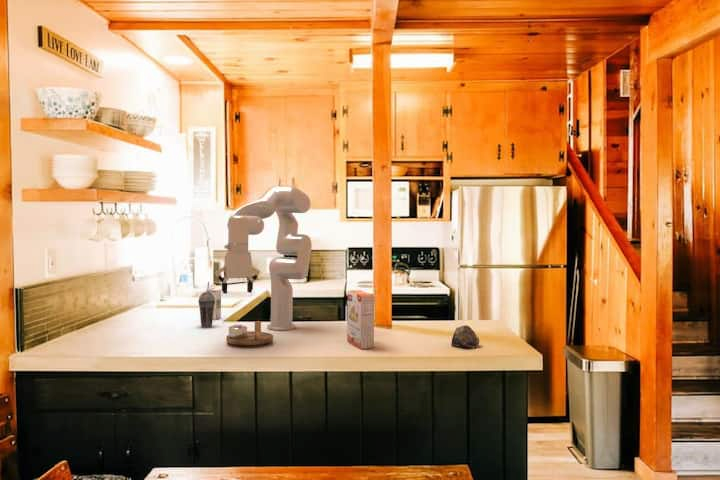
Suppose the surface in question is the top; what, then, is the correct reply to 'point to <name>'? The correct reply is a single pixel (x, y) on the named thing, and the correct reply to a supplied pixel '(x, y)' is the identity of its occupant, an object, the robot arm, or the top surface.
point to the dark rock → (465, 337)
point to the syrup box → (216, 302)
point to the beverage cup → (206, 308)
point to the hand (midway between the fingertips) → (237, 292)
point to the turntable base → (250, 345)
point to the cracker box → (360, 319)
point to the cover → (237, 332)
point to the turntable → (253, 337)
